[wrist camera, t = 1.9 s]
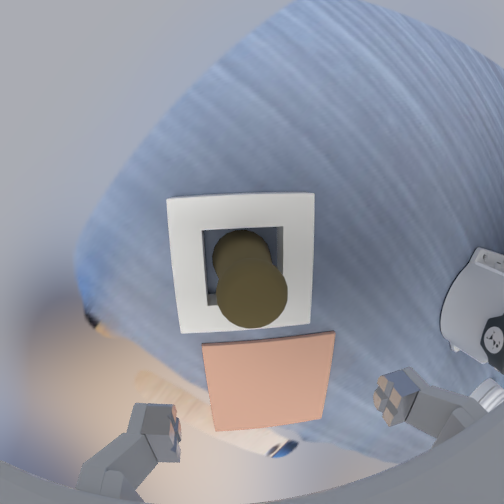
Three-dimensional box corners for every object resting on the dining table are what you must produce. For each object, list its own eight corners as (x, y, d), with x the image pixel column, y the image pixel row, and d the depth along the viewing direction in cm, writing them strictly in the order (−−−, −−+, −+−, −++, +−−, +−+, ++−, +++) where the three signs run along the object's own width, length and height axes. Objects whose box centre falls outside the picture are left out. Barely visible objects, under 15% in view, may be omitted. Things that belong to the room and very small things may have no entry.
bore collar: (304, 191, 28) (314, 193, 25) (302, 311, 32) (309, 323, 29) (171, 196, 27) (166, 199, 24) (183, 319, 30) (181, 333, 27)
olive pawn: (214, 226, 28) (213, 256, 17) (274, 232, 29) (306, 264, 18) (209, 283, 29) (207, 339, 19) (266, 287, 30) (290, 342, 20)
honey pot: (471, 389, 44) (512, 430, 27) (498, 371, 45) (537, 405, 28) (453, 423, 47) (486, 463, 30) (481, 405, 49) (514, 439, 31)
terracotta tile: (333, 330, 33) (335, 333, 32) (320, 415, 37) (321, 418, 36) (202, 343, 31) (201, 346, 31) (215, 428, 35) (215, 431, 35)
